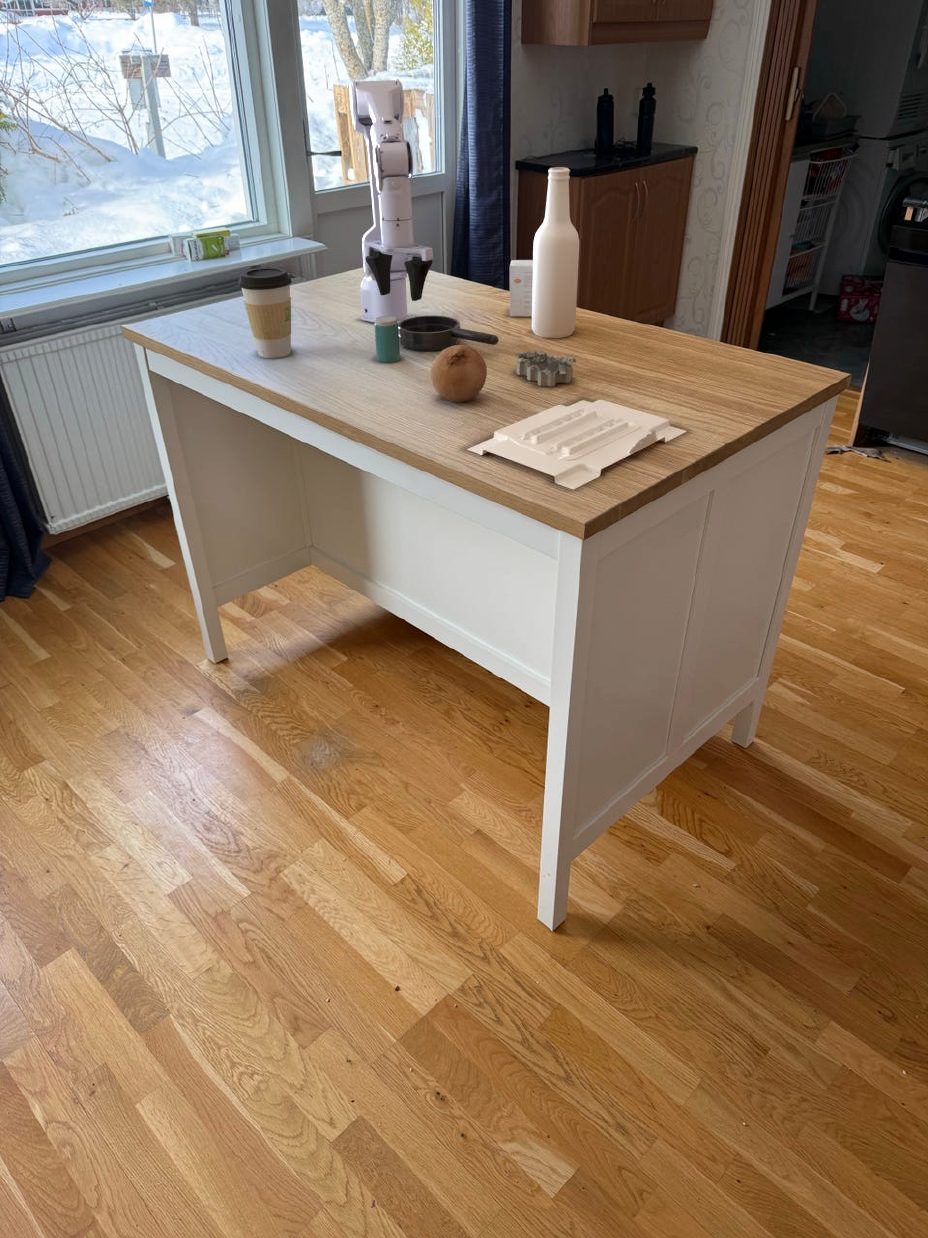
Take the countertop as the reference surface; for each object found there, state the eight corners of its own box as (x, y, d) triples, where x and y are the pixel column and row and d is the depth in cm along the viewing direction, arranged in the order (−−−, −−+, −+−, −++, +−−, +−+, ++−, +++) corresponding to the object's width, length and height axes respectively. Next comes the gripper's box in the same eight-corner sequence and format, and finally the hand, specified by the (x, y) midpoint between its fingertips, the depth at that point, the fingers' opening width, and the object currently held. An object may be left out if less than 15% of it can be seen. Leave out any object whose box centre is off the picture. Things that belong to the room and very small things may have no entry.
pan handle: (448, 337, 173) (448, 327, 172) (454, 334, 175) (453, 325, 174) (494, 346, 168) (494, 337, 167) (500, 344, 169) (500, 334, 168)
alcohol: (569, 340, 177) (577, 172, 161) (526, 336, 180) (529, 171, 163) (579, 327, 184) (587, 165, 167) (537, 324, 187) (541, 164, 170)
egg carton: (577, 382, 157) (579, 359, 155) (540, 389, 154) (541, 366, 152) (546, 365, 165) (547, 342, 163) (510, 371, 162) (511, 349, 160)
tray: (465, 449, 133) (465, 425, 131) (581, 405, 150) (583, 383, 148) (573, 490, 121) (576, 464, 119) (686, 437, 138) (690, 414, 136)
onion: (465, 423, 150) (465, 380, 141) (420, 399, 153) (417, 355, 144) (497, 388, 154) (499, 344, 145) (452, 365, 156) (451, 321, 148)
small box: (547, 309, 196) (548, 259, 190) (546, 317, 191) (548, 265, 185) (510, 309, 197) (510, 259, 191) (508, 316, 192) (509, 265, 186)
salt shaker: (372, 359, 169) (369, 319, 165) (387, 353, 172) (384, 314, 168) (389, 364, 167) (387, 323, 163) (404, 357, 170) (402, 317, 166)
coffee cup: (310, 348, 176) (300, 268, 168) (281, 363, 169) (270, 280, 160) (268, 343, 180) (257, 264, 171) (238, 357, 172) (225, 276, 164)
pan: (386, 344, 177) (385, 326, 175) (425, 329, 185) (424, 312, 183) (434, 355, 171) (433, 336, 169) (472, 339, 179) (472, 321, 177)
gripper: (350, 217, 160) (357, 296, 168) (413, 225, 153) (417, 307, 161) (376, 211, 165) (382, 288, 172) (438, 219, 158) (441, 298, 165)
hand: (400, 296), depth 167 cm, fingers open, 7 cm apart
